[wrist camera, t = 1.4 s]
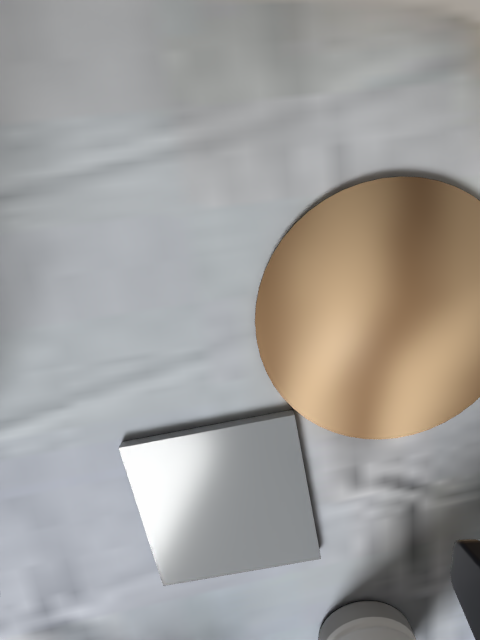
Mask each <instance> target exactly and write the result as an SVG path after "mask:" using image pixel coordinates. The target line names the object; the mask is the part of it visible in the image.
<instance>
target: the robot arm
mask: <svg viewBox="0 0 480 640" xmlns="http://www.w3.org/2000/svg"><path fill="white" fill-rule="evenodd" d="M450 575H451V582H452V585H453V588H454V590H455V593H456V595H457V598H458V600H459V602H460V605H461V607H462V609H463V612H464V614H465V616H466V619H467V621H468V623H469V626H470V628H471V630H472V633H473V635H474V637H475V640H480V541H479V540H476V539H466V540H457V541H456V542H455V543H454V547H453V555H452V563H451V571H450Z"/></svg>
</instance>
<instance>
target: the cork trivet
mask: <svg viewBox="0 0 480 640" xmlns="http://www.w3.org/2000/svg"><path fill="white" fill-rule="evenodd" d="M255 327H256V338H257V343H258V348H259V352H260V356H261V359H262V362H263V364H264V367H265V370H266V372H267V374H268V376H269V378H270V379H271V381H272V383H273V385H274V386H275V388H276V389H277V390H278V392H279V393H280V394H281V396H282V397H283V398H284V399H285V400H286V401H287V402H288V403H289V404H290V405H291V406H292V408H293V409H295V410H296V411H297V412H298V413H300V414H301V415H302V416H304V417H305V418H306V419H308V420H310V421H311V422H313V423H315V424H317V425H318V426H320V427H323V428H325V429H327V430H330V431H332V432H335V433H338V434H342V435H346V436H349V437H356V438H363V439H389V438H399V437H404V436H408V435H413V434H416V433H419V432H423V431H426V430H429V429H431V428H433V427H435V426H438V425H440V424H442V423H444V422H446V421H448V420H449V419H451V418H453V417H454V416H456V415H458V414H459V413H461V412H462V411H463V410H465V409H466V408H467V407H469V406H470V405H471V404H473V403H474V402H475V401H476V400H477V399H478V398H479V397H480V201H479V200H478V199H476V198H475V197H474V196H472V195H470V194H469V193H467V192H465V191H463V190H461V189H459V188H457V187H455V186H452V185H449V184H446V183H443V182H441V181H437V180H432V179H426V178H421V177H390V178H381V179H377V180H372V181H368V182H364V183H360V184H358V185H355V186H352V187H350V188H347V189H345V190H342V191H340V192H338V193H336V194H334V195H333V196H331V197H329V198H327V199H325V200H324V201H322V202H321V203H319V204H318V205H317V206H315V207H314V208H312V209H311V210H310V211H308V212H307V213H306V214H305V215H304V216H303V217H302V218H301V219H300V220H299V221H297V222H296V223H295V224H294V225H293V227H292V228H291V229H290V230H289V231H288V233H287V234H286V235H285V236H284V237H283V239H282V240H281V242H280V243H279V245H278V246H277V248H276V249H275V251H274V253H273V254H272V256H271V258H270V260H269V262H268V265H267V267H266V269H265V271H264V274H263V277H262V280H261V283H260V286H259V291H258V296H257V301H256V313H255Z"/></svg>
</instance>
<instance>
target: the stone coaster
mask: <svg viewBox="0 0 480 640" xmlns="http://www.w3.org/2000/svg"><path fill="white" fill-rule="evenodd" d="M119 451H120V454H121V457H122V460H123V463H124V466H125V469H126V473H127V476H128V479H129V482H130V485H131V488H132V491H133V494H134V497H135V500H136V503H137V506H138V509H139V513H140V516H141V519H142V522H143V525H144V528H145V531H146V534H147V537H148V540H149V543H150V546H151V550H152V553H153V556H154V559H155V562H156V565H157V568H158V571H159V574H160V577H161V580H162V583H163V586H166V585H172V584H178V583H184V582H190V581H195V580H201V579H207V578H213V577H219V576H224V575H230V574H236V573H242V572H248V571H253V570H259V569H265V568H271V567H277V566H282V565H288V564H294V563H300V562H305V561H311V560H317V559H321V556H320V550H319V545H318V539H317V534H316V529H315V523H314V518H313V512H312V507H311V501H310V496H309V491H308V485H307V480H306V474H305V469H304V464H303V458H302V453H301V447H300V442H299V436H298V431H297V426H296V420H295V415H294V412H293V410H289V411H283V412H278V413H273V414H268V415H262V416H257V417H252V418H246V419H241V420H236V421H231V422H225V423H220V424H215V425H209V426H204V427H199V428H194V429H188V430H183V431H178V432H172V433H167V434H162V435H157V436H151V437H146V438H141V439H135V440H130V441H125V442H122V443H121V445H120V446H119Z"/></svg>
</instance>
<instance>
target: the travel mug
mask: <svg viewBox="0 0 480 640" xmlns="http://www.w3.org/2000/svg"><path fill="white" fill-rule="evenodd" d="M318 640H416V638H415V636H414V634H413V631H412V629H411V627H410V624H409V622H408V621H407V619H406V617H405V616H404V615H403V614H402V613H401V612H400V611H398V610H397V609H395V608H394V607H392V606H390V605H387V604H385V603H381V602H376V601H361V602H355V603H351V604H348V605H346V606H343V607H341V608H339V609H338V610H336V611H335V612H333V613H332V614H331V615H330V616H329V617H328V618H327V619H326V621H325V622H324V623H323V625H322V627H321V630H320V632H319V638H318Z"/></svg>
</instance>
